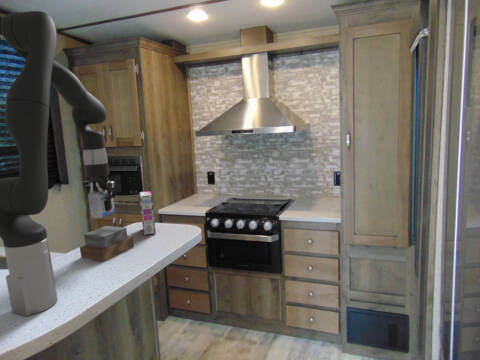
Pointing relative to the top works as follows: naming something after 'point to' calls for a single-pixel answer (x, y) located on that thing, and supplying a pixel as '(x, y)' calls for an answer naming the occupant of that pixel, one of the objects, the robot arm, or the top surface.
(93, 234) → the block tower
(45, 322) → the top surface
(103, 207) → the medicine box
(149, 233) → the white cardboard box
